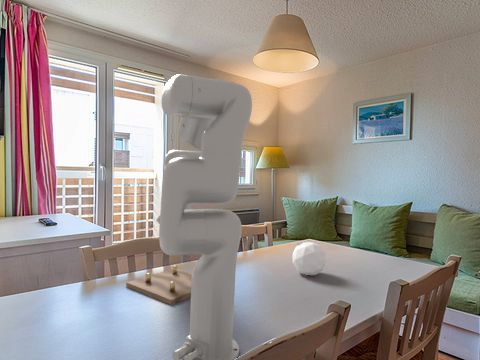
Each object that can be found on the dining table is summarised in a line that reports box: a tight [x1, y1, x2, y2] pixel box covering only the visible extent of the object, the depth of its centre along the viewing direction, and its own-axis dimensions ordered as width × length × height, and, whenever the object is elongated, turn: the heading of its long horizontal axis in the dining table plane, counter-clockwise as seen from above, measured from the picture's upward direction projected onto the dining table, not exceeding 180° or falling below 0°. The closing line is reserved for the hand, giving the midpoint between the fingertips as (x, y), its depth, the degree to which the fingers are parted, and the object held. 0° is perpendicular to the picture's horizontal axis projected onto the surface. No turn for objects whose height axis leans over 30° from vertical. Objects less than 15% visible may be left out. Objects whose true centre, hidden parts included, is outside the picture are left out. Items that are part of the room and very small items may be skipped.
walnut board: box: [125, 264, 192, 306], centre depth 108 cm, size 22×22×4 cm
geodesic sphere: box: [291, 240, 327, 276], centre depth 127 cm, size 14×14×14 cm
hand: (175, 239), depth 107 cm, fingers closed on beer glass, 6 cm apart
